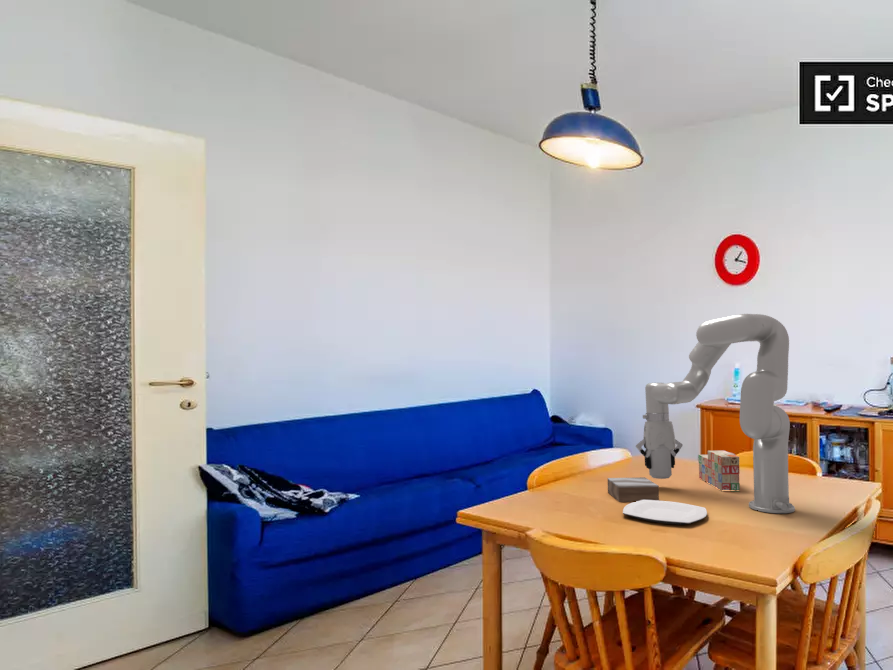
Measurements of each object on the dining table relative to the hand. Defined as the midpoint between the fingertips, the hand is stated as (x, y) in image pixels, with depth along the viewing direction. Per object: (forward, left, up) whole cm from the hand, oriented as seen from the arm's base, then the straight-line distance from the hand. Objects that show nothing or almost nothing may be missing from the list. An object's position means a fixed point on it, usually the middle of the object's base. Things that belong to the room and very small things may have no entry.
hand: (660, 467), depth 221 cm
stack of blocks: (+5, -23, -8) cm, 25 cm away
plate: (-34, +12, -8) cm, 37 cm away
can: (0, 0, -4) cm, 4 cm away
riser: (-11, +14, -7) cm, 19 cm away
